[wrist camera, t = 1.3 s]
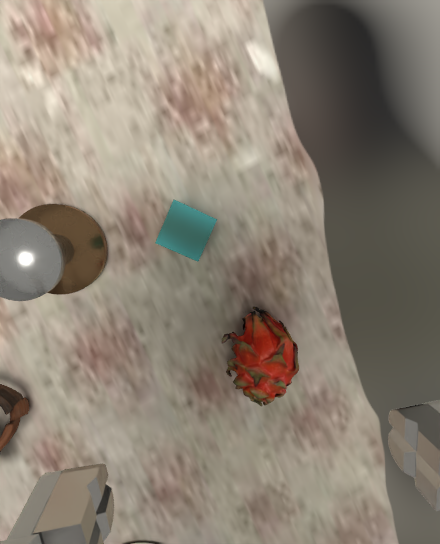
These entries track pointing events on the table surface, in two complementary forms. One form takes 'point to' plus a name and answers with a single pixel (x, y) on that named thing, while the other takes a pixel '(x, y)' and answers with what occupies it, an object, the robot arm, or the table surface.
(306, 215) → the table surface
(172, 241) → the block
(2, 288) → the bobbin post
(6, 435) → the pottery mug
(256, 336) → the dragon fruit
